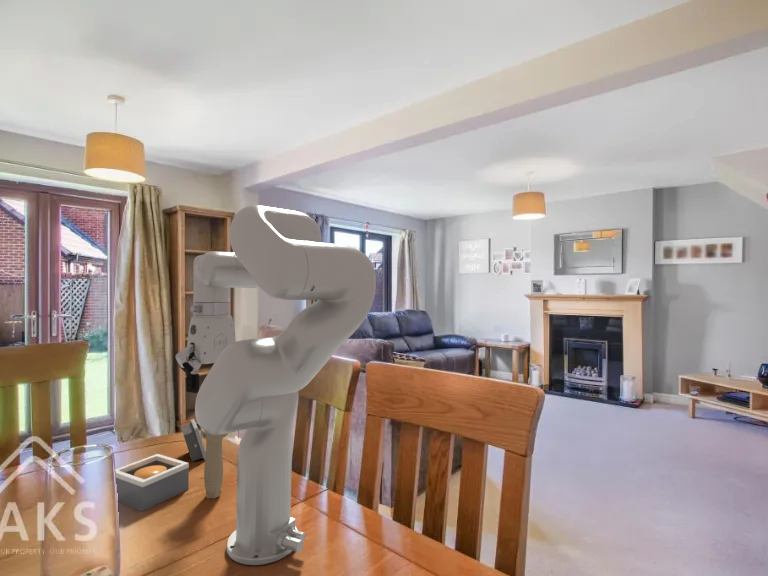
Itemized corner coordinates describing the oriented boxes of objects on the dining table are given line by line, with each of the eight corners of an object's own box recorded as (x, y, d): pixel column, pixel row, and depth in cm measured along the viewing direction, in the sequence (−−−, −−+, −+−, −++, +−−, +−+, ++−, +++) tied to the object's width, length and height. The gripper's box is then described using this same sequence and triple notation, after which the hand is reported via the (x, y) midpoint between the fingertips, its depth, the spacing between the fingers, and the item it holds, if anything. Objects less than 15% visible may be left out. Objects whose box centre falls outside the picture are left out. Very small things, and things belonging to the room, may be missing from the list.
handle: (212, 504, 90) (213, 434, 90) (194, 496, 94) (196, 428, 94) (231, 495, 94) (232, 428, 94) (214, 487, 98) (215, 423, 98)
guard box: (188, 489, 97) (188, 463, 97) (142, 511, 87) (142, 482, 87) (157, 478, 102) (157, 453, 102) (110, 498, 92) (110, 471, 92)
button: (172, 477, 96) (173, 469, 96) (146, 489, 90) (146, 480, 90) (154, 471, 99) (154, 463, 99) (127, 482, 93) (127, 473, 93)
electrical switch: (207, 460, 113) (204, 426, 113) (186, 466, 111) (183, 431, 110) (203, 448, 121) (200, 416, 121) (183, 453, 119) (180, 421, 118)
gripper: (190, 312, 85) (189, 398, 85) (252, 309, 100) (251, 381, 100) (165, 311, 88) (164, 394, 88) (228, 309, 104) (228, 379, 104)
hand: (211, 387), depth 94 cm, fingers open, 9 cm apart
